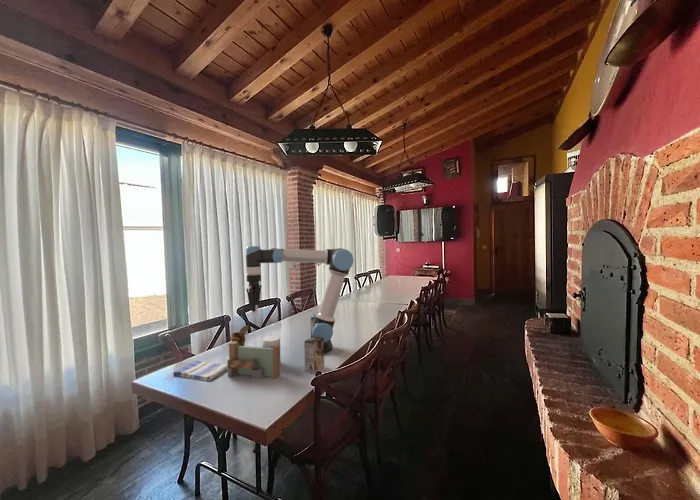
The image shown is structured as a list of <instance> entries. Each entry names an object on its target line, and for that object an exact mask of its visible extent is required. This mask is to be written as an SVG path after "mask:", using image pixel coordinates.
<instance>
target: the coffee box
mask: <svg viewBox="0 0 700 500" xmlns="http://www.w3.org/2000/svg"><path fill="white" fill-rule="evenodd" d="M303 346H304V371H305V372H308V373H312V374H316V373H317V372H319V371H320V370H322V369H323V368H325V354H324V338H321V337H315V336H314V337H312V338H311V337H310V338H308V339H306V340H305V341H304V345H303ZM318 370H319V371H318Z"/></svg>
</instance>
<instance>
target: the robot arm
mask: <svg viewBox="0 0 700 500" xmlns="http://www.w3.org/2000/svg"><path fill="white" fill-rule="evenodd" d="M283 262H290V263H291V262H293V263H297V262H298V263H312V264H313V263H315V264H317V263H318V264H325V265H326V266H327V265H328V266H329V267H328V270H329V277H328V280H327V284H326V287H325V290H324V295H323V298H322V301H321V303H320V304H321V305H320V309H319V311H318V312H313V313H311V314H310V317H309V319H310V338H312V337H314V336H315V337H321V338H324V355H325V354H328V353H331V352H332V351H333V349H334V348H333V347H334V346H333V345H334V344H333V342H332V337H333V334H334V326H335V322H336V319H335V317H334V316H335V313H336V309H337V306H338V302H339V299H340V296H341V295H340V294H341V292H342V288H343V284H344V281H345V277H347V276H349V274H350V273H349V272H350V269H351V268H352V266H353V265H354V256H353V254H352V253H351V251H350V250H349V249H347V248H342V247H341V248H339V247H338V248H332V249H331V248H329V249H328V248H326V249H325V250H321V249H320V250H317V249H314V250H313V249H296V248H295V249H291V248H276V247H273V248H270V249H261V246H259V245H251V246H246V248H245V264H246V268H245V270H246V274H247V275H246V282H248V288H246V289H245V290H246V293H247V298H248V304H249V305H248V306H251V318H257V317H259V314H258V310H259V309H258V308H259V307H258V305H260V301H261V293H262V291H261V289H262V285H261V284H260V282H261V280H262V274H261V273H262V269H261V268H262V266H261V264H279V263H283Z"/></svg>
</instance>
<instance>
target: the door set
mask: <svg viewBox="0 0 700 500" xmlns="http://www.w3.org/2000/svg"><path fill="white" fill-rule="evenodd" d="M231 341H232V340H231ZM228 352H229V353H228V359H233V360H242V361H252V360H254V359H258V368H257V369H247V368H232V367H228V370H227V378H232V377H233V376H235V375H237V374H239V375H249V376H251V379H254V380H256V379H257V380H262V379H263V378H264V377H270V378H271V377H272V378H273V379H275V380H276V379H278V378H280V376H281V343H280V344H275V345H274V346H273V348H263V347H262V346H261V347H259V346H258V347H257V346H247V345H245V346H238V342H236V341H232V342H229V343H228Z"/></svg>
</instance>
